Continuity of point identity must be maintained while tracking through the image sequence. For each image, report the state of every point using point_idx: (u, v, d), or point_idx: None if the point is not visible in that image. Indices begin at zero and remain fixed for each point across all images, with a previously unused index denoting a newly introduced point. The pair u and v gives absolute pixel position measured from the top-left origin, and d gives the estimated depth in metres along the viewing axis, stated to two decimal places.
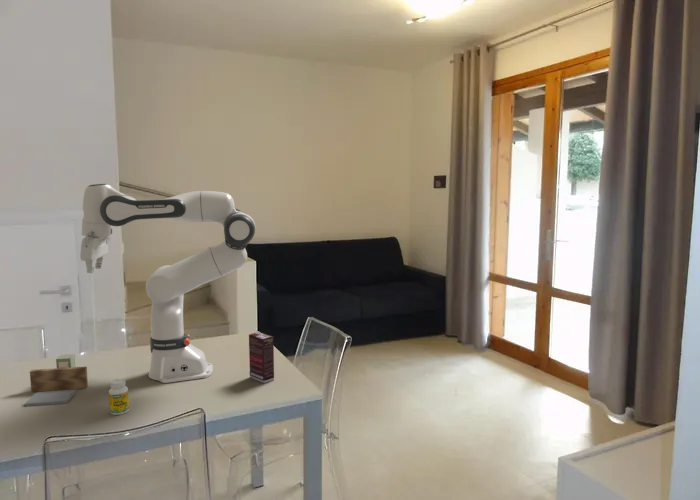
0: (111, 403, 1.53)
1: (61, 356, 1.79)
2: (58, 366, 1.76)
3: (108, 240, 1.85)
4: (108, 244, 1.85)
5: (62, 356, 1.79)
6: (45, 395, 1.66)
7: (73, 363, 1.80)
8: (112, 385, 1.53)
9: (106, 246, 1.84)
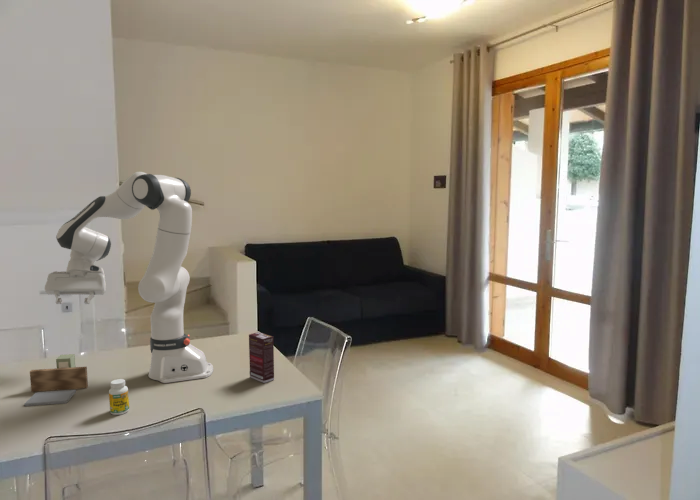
0: (111, 403, 1.53)
1: (61, 356, 1.79)
2: (58, 366, 1.76)
3: (99, 277, 1.94)
4: (100, 281, 1.93)
5: (62, 356, 1.79)
6: (45, 395, 1.66)
7: (73, 363, 1.80)
8: (112, 385, 1.53)
9: (95, 282, 1.92)
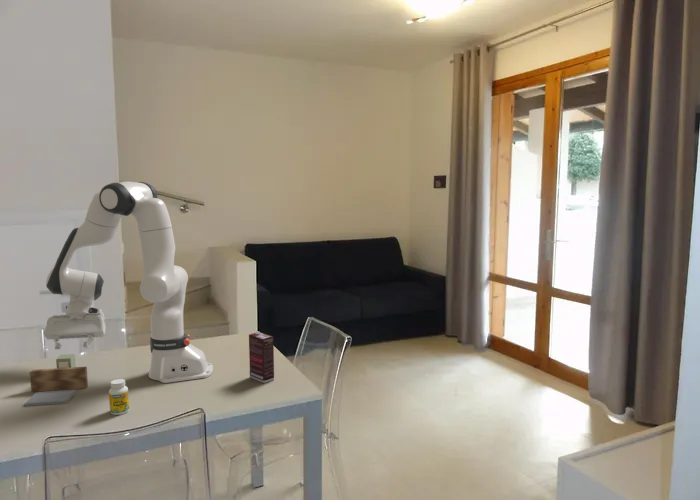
0: (111, 403, 1.53)
1: (61, 356, 1.79)
2: (58, 366, 1.76)
3: (98, 320, 1.91)
4: (98, 323, 1.90)
5: (62, 356, 1.79)
6: (45, 395, 1.66)
7: (73, 363, 1.80)
8: (112, 385, 1.53)
9: (93, 325, 1.89)
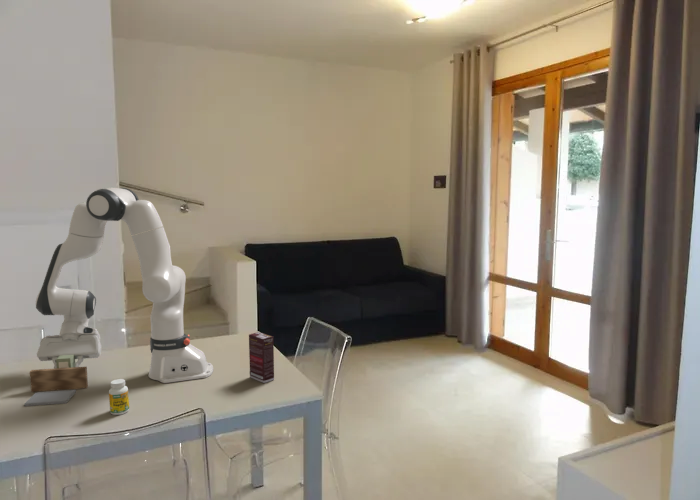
0: (111, 403, 1.53)
1: (61, 356, 1.79)
2: (58, 366, 1.76)
3: (93, 340, 1.84)
4: (94, 344, 1.84)
5: (62, 356, 1.79)
6: (45, 395, 1.66)
7: (73, 363, 1.80)
8: (112, 385, 1.53)
9: (88, 346, 1.83)
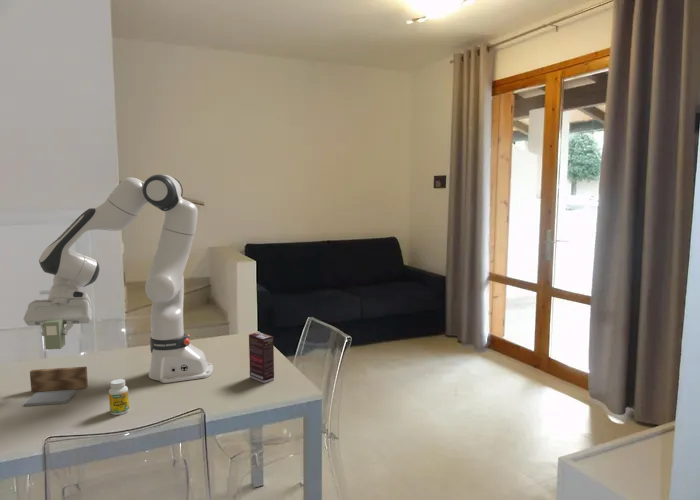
0: (111, 403, 1.53)
1: (49, 320, 1.69)
2: (46, 330, 1.67)
3: (83, 304, 1.75)
4: (84, 308, 1.74)
5: (50, 320, 1.70)
6: (45, 395, 1.66)
7: None
8: (112, 385, 1.53)
9: (78, 310, 1.73)
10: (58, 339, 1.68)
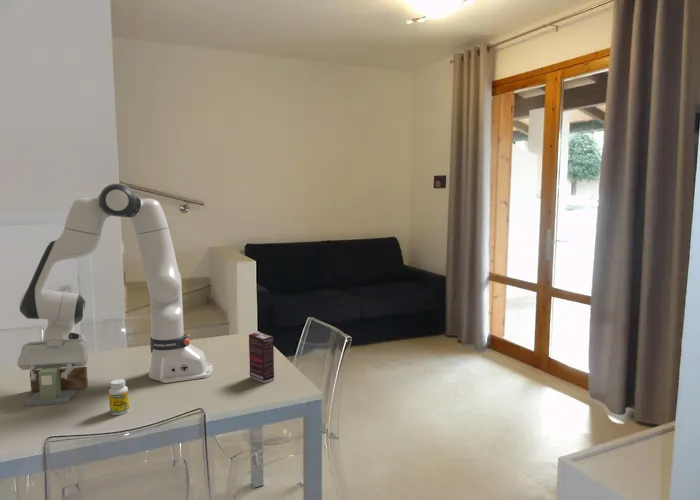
0: (111, 403, 1.53)
1: (44, 369, 1.64)
2: (40, 380, 1.62)
3: (79, 347, 1.69)
4: (80, 351, 1.69)
5: (45, 368, 1.64)
6: None
7: (57, 376, 1.65)
8: (112, 385, 1.53)
9: (74, 353, 1.68)
10: (53, 389, 1.63)
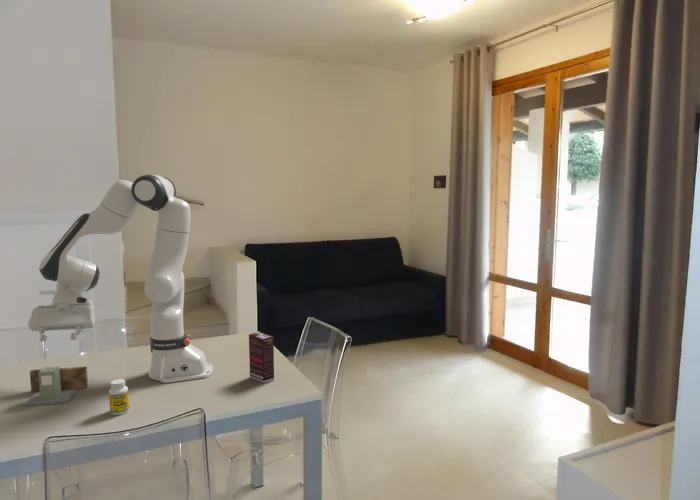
0: (111, 403, 1.53)
1: (44, 369, 1.64)
2: (41, 380, 1.62)
3: (86, 310, 1.78)
4: (87, 314, 1.77)
5: (45, 368, 1.64)
6: None
7: (57, 376, 1.65)
8: (112, 385, 1.53)
9: (82, 316, 1.77)
10: (53, 389, 1.63)
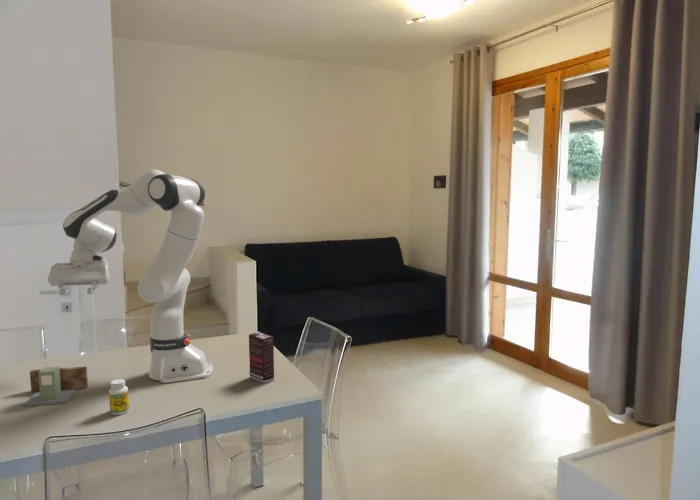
0: (111, 403, 1.53)
1: (44, 369, 1.64)
2: (41, 380, 1.62)
3: (102, 267, 1.90)
4: (103, 271, 1.89)
5: (45, 368, 1.64)
6: None
7: (57, 376, 1.65)
8: (112, 385, 1.53)
9: (97, 272, 1.89)
10: (53, 389, 1.63)
